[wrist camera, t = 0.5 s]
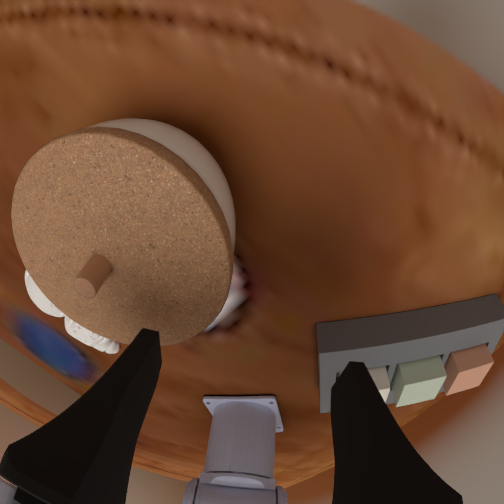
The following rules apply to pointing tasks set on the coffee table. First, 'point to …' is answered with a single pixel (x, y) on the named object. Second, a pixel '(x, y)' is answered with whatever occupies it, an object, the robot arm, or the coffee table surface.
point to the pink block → (466, 368)
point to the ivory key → (380, 380)
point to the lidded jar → (128, 229)
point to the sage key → (417, 380)
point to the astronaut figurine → (69, 320)
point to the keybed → (405, 338)
